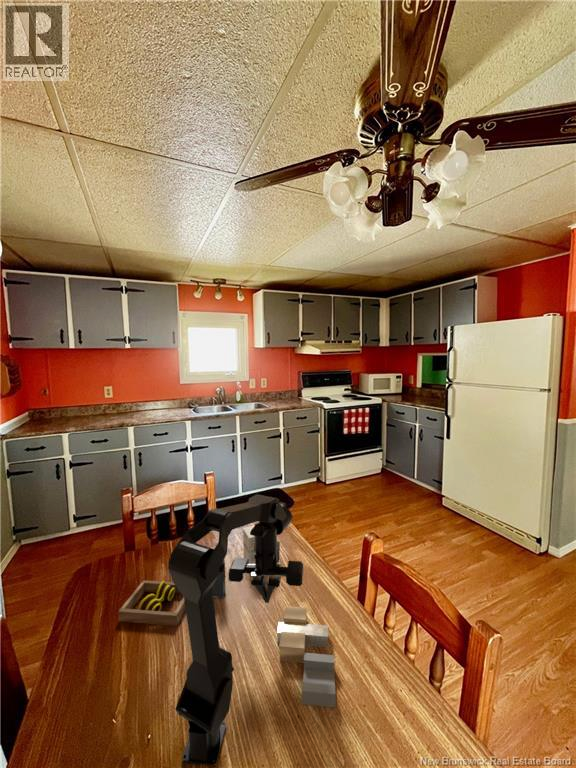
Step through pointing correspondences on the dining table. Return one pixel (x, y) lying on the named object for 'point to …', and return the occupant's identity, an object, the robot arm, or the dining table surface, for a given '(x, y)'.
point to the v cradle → (318, 680)
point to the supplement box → (249, 544)
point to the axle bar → (306, 633)
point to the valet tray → (145, 615)
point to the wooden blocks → (293, 636)
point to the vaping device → (220, 583)
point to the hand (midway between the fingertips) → (267, 601)
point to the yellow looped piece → (157, 598)
